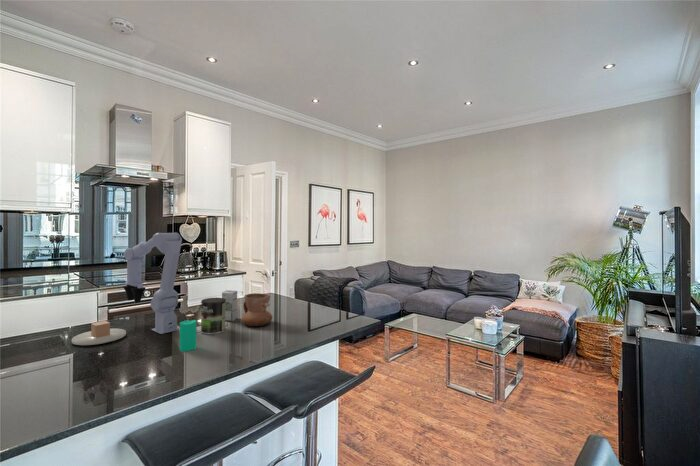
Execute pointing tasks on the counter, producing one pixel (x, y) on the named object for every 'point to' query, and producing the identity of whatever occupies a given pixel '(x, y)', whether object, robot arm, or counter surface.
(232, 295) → the syrup box
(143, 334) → the counter surface
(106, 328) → the block
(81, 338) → the dish
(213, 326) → the glass jar
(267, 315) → the ceramic jug
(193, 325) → the candle
